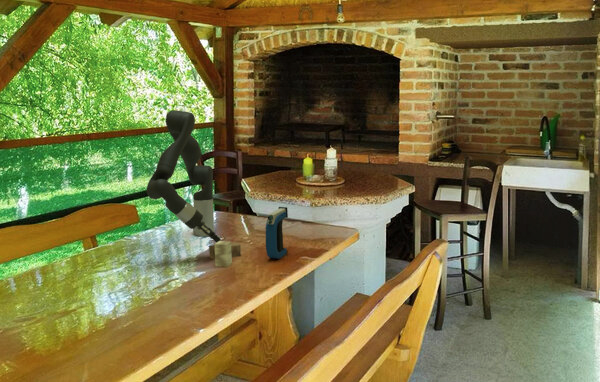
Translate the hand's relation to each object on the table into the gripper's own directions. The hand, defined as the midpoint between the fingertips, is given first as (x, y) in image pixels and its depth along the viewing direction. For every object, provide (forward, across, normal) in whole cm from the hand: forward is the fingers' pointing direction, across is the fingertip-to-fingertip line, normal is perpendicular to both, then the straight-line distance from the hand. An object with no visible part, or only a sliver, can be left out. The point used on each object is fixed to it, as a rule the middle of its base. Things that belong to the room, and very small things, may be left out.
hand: (218, 240), depth 260 cm
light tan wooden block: (+1, 0, +6) cm, 6 cm away
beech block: (+4, -11, +6) cm, 13 cm away
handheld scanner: (+20, -10, -10) cm, 25 cm away
